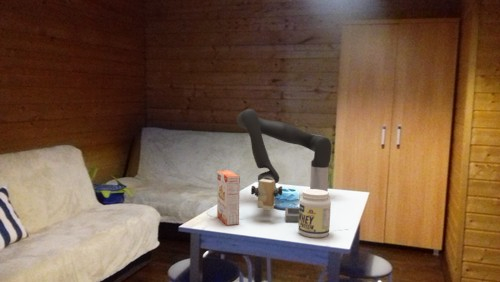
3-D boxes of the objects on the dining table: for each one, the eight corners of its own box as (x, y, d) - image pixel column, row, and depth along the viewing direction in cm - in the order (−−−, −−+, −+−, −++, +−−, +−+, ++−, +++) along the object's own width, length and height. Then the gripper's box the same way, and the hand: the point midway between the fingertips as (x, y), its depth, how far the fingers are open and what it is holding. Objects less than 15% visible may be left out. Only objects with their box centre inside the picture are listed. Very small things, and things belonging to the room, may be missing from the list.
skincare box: (257, 208, 185) (257, 180, 184) (261, 205, 189) (261, 178, 188) (270, 210, 182) (271, 182, 181) (275, 207, 186) (275, 180, 185)
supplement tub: (292, 232, 171) (293, 191, 169) (310, 226, 179) (312, 187, 178) (316, 240, 162) (318, 197, 160) (335, 234, 171) (337, 192, 169)
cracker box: (216, 216, 191) (216, 170, 188) (229, 215, 193) (230, 169, 191) (225, 226, 178) (226, 176, 175) (239, 224, 180) (240, 175, 178)
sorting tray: (285, 213, 198) (285, 207, 198) (313, 215, 197) (314, 208, 197) (285, 222, 185) (285, 215, 185) (316, 223, 184) (316, 216, 184)
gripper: (252, 177, 199) (249, 185, 183) (283, 178, 198) (283, 186, 182) (251, 193, 200) (249, 202, 184) (282, 194, 199) (283, 203, 183)
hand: (266, 194), depth 183 cm, fingers closed on skincare box, 7 cm apart
